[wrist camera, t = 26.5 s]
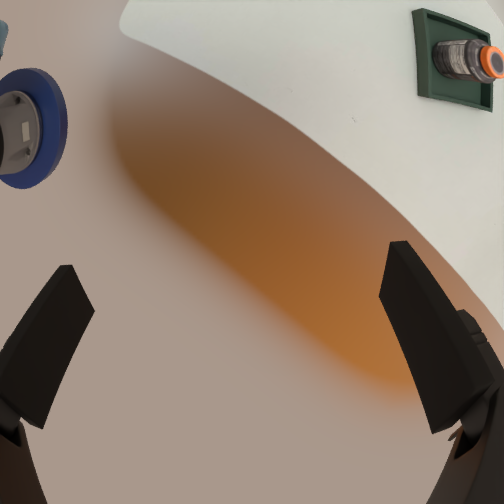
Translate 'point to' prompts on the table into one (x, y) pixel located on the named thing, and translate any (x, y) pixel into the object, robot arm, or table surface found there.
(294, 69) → the table surface
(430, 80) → the tray
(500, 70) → the pill bottle
